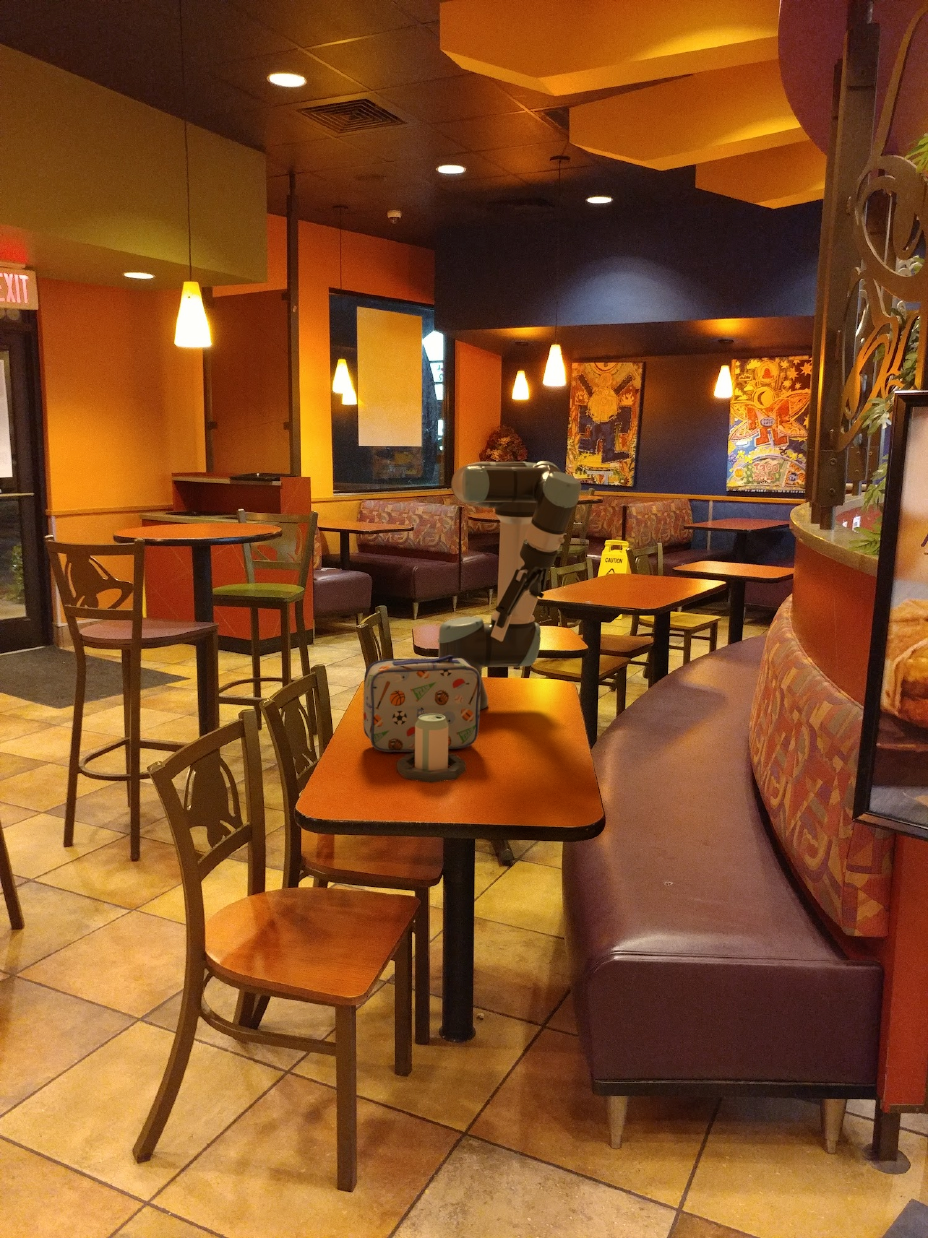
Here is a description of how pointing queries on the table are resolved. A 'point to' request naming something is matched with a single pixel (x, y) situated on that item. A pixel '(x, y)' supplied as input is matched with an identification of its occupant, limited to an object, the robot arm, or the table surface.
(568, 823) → the table surface
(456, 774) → the ring
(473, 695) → the lunch box
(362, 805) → the table surface
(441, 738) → the can
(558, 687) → the table surface
